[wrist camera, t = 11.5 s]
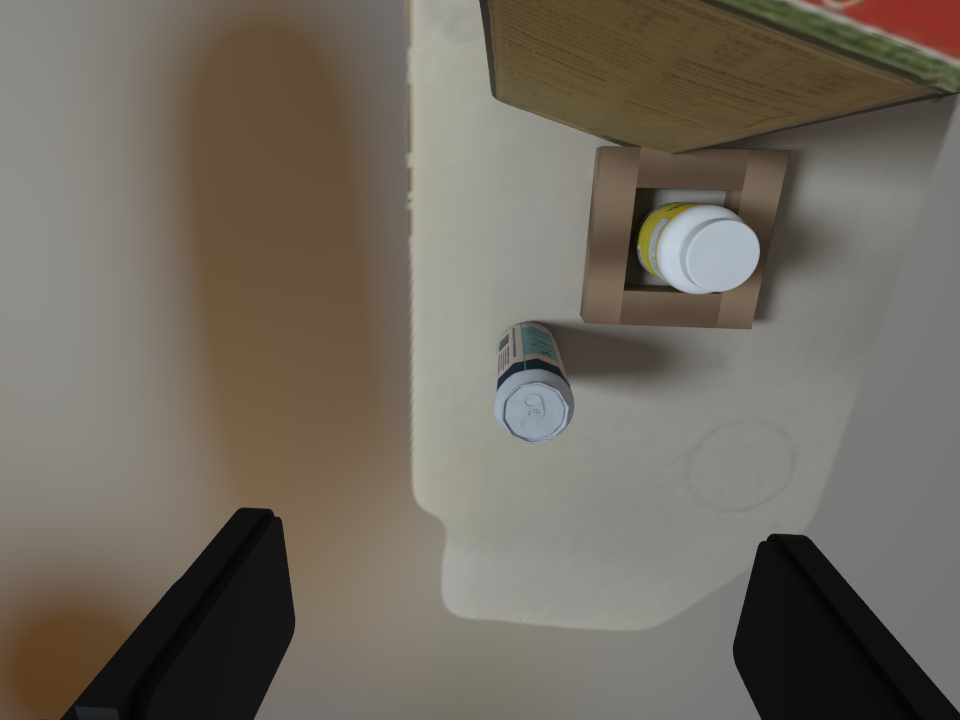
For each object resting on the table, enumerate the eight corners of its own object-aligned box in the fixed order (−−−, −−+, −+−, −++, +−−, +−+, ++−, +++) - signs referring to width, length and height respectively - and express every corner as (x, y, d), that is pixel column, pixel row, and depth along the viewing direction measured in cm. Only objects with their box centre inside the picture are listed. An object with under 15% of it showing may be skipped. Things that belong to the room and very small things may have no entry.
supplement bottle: (719, 213, 36) (793, 223, 27) (688, 284, 38) (747, 317, 28) (648, 191, 36) (698, 194, 26) (620, 264, 37) (658, 290, 28)
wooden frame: (596, 148, 35) (602, 146, 32) (770, 152, 34) (789, 150, 32) (580, 314, 39) (585, 323, 36) (736, 320, 38) (751, 329, 36)
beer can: (504, 381, 41) (503, 456, 30) (491, 327, 40) (485, 384, 28) (561, 370, 40) (582, 442, 29) (550, 314, 39) (569, 368, 28)
